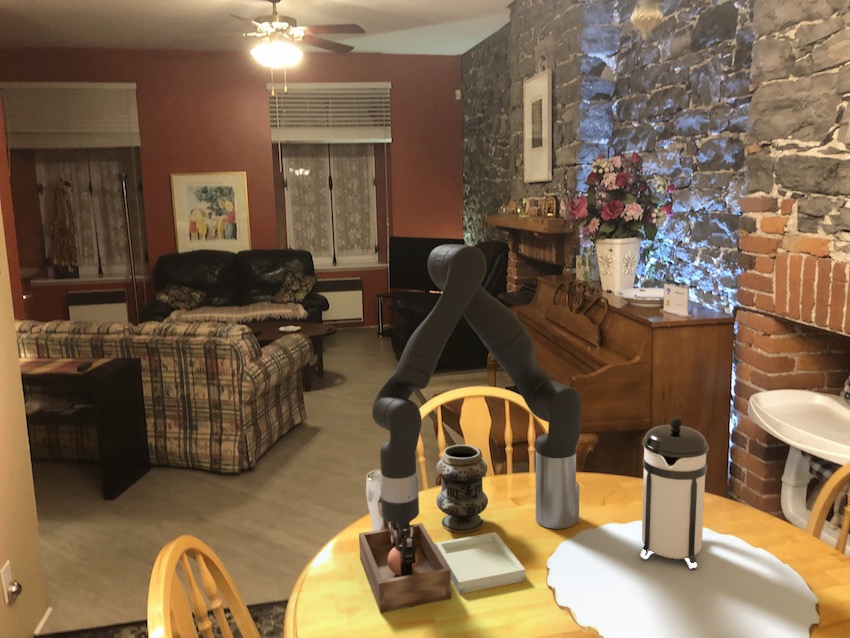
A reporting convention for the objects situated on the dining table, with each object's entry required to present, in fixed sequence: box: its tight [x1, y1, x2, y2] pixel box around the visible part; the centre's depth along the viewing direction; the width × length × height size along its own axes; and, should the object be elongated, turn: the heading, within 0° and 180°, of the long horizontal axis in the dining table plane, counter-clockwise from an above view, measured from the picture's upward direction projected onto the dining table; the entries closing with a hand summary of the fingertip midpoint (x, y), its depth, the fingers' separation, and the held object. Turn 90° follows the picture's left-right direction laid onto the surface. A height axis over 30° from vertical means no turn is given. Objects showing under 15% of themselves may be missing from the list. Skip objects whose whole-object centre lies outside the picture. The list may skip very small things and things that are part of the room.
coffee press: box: [641, 417, 710, 563], centre depth 146 cm, size 17×16×30 cm
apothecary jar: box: [435, 444, 489, 534], centre depth 162 cm, size 12×12×18 cm
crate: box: [358, 522, 452, 614], centre depth 141 cm, size 14×20×6 cm
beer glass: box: [365, 468, 389, 532], centre depth 157 cm, size 7×7×15 cm
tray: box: [434, 531, 526, 594], centre depth 144 cm, size 14×16×2 cm
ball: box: [388, 545, 417, 576], centre depth 141 cm, size 6×6×6 cm
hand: (402, 569), depth 141 cm, fingers closed on ball, 6 cm apart
